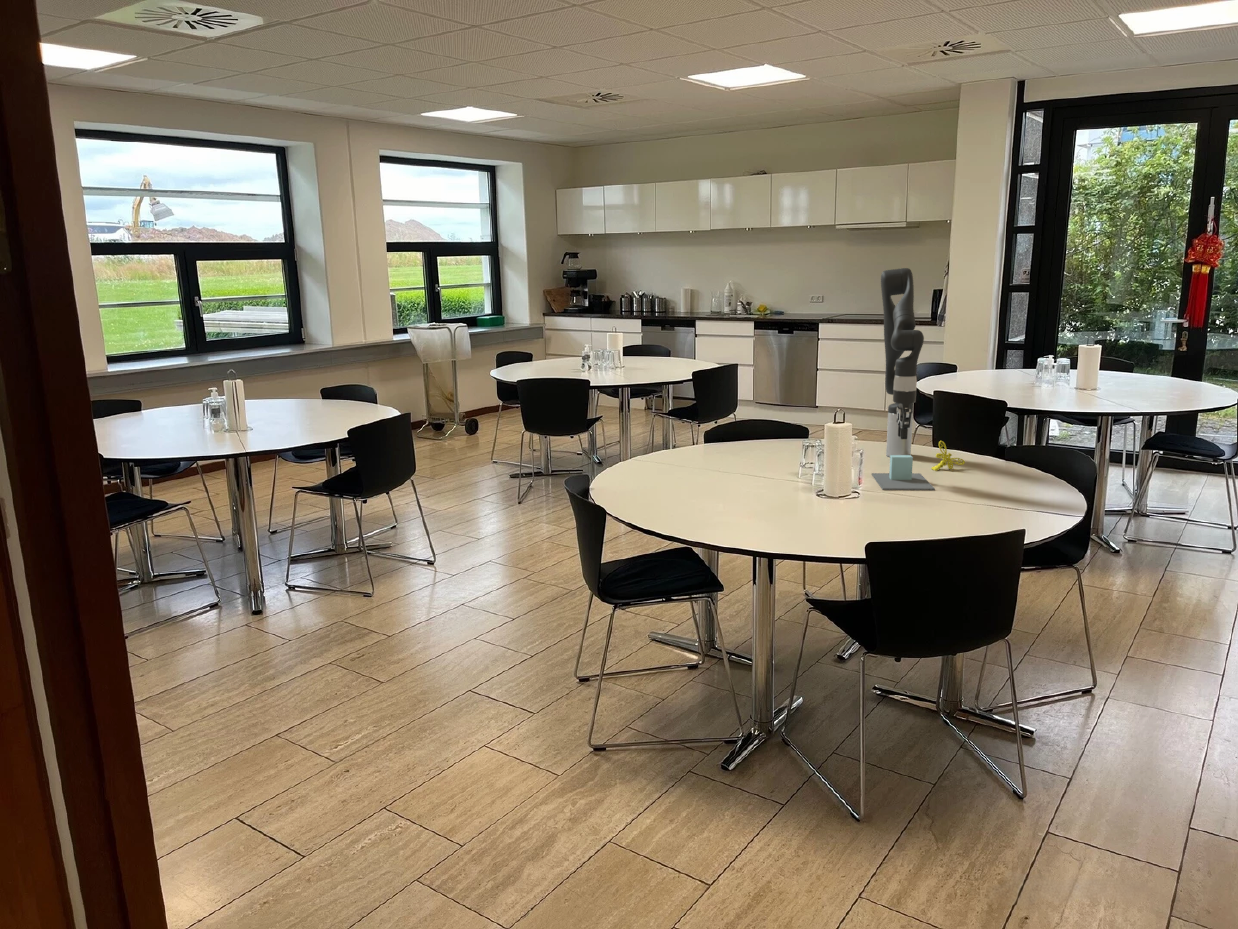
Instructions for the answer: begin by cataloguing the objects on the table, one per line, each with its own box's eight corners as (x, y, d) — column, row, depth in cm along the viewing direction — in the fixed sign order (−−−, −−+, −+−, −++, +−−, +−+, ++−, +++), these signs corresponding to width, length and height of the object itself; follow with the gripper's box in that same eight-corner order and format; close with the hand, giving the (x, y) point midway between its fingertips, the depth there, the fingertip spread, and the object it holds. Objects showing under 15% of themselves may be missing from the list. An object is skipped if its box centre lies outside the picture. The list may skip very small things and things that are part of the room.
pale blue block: (889, 477, 320) (890, 455, 318) (909, 477, 319) (910, 455, 317) (891, 479, 316) (892, 457, 314) (911, 479, 315) (912, 457, 314)
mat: (871, 474, 326) (871, 473, 326) (920, 474, 325) (920, 473, 324) (882, 490, 305) (882, 488, 305) (934, 490, 303) (934, 488, 303)
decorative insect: (945, 481, 335) (964, 461, 334) (949, 484, 332) (968, 463, 331) (921, 460, 332) (940, 439, 331) (924, 462, 329) (944, 441, 328)
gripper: (889, 385, 318) (887, 433, 322) (897, 391, 304) (895, 441, 308) (911, 385, 317) (909, 433, 321) (920, 391, 303) (918, 441, 307)
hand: (902, 437), depth 314 cm, fingers open, 4 cm apart
